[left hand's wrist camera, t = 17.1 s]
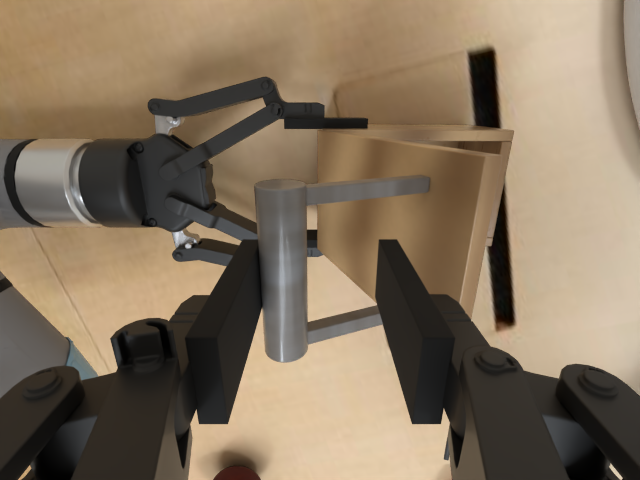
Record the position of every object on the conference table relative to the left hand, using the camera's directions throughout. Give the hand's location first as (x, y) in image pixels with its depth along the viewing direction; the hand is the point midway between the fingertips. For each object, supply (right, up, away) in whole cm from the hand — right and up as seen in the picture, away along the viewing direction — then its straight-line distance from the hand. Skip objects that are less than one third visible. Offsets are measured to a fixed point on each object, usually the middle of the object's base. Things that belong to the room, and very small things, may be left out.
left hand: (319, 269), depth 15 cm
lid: (+4, +2, +6) cm, 7 cm away
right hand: (+4, +6, +15) cm, 17 cm away
